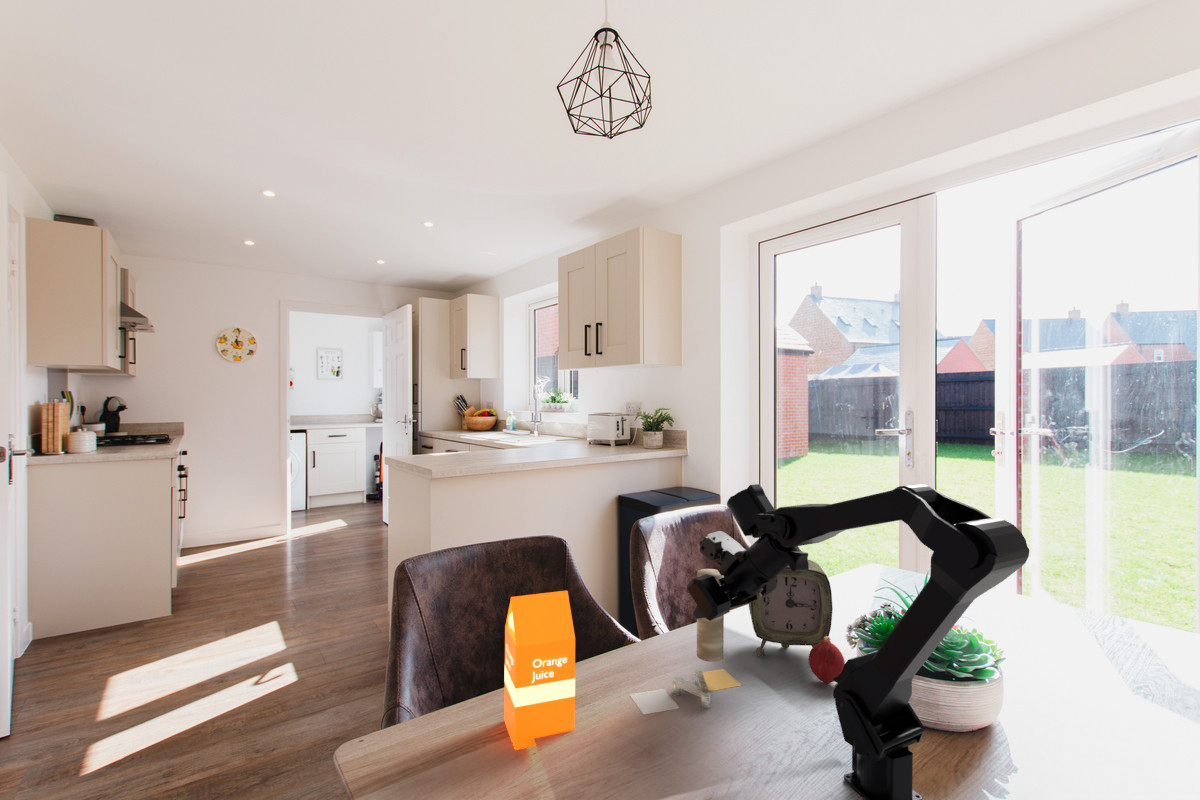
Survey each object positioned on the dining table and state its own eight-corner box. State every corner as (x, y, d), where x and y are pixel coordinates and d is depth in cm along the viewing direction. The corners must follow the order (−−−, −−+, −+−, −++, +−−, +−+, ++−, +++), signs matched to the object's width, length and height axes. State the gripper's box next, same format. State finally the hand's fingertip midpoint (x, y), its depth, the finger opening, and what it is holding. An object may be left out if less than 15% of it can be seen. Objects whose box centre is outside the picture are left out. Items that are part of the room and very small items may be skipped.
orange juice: (503, 720, 85) (504, 588, 85) (559, 709, 88) (561, 582, 88) (514, 751, 78) (515, 606, 78) (575, 738, 81) (576, 599, 81)
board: (773, 717, 87) (773, 710, 87) (654, 741, 80) (654, 733, 80) (725, 674, 100) (725, 668, 100) (619, 692, 93) (619, 685, 93)
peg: (728, 659, 94) (729, 575, 94) (705, 663, 92) (705, 578, 92) (714, 648, 98) (715, 567, 98) (692, 652, 96) (692, 570, 96)
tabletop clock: (750, 660, 106) (751, 526, 105) (746, 639, 114) (747, 516, 114) (831, 667, 103) (833, 530, 103) (821, 645, 112) (822, 520, 112)
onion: (847, 694, 94) (848, 646, 94) (811, 690, 95) (812, 642, 95) (840, 677, 99) (841, 632, 99) (805, 673, 100) (806, 628, 100)
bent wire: (723, 707, 88) (723, 690, 88) (689, 713, 86) (689, 697, 86) (700, 683, 95) (700, 669, 95) (668, 689, 93) (668, 674, 93)
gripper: (761, 511, 99) (707, 560, 107) (697, 527, 86) (642, 583, 93) (803, 566, 93) (744, 614, 101) (742, 592, 80) (679, 645, 88)
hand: (703, 612), depth 96 cm, fingers closed on peg, 4 cm apart
